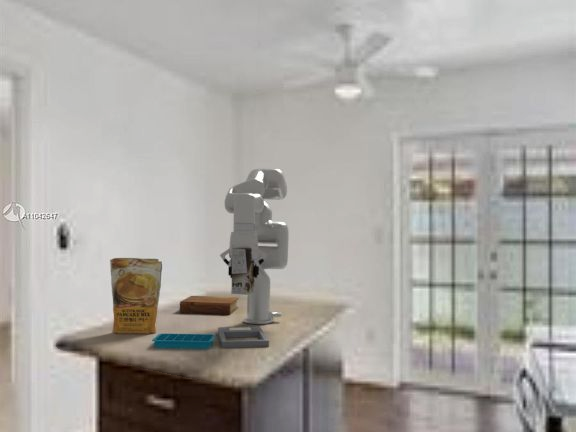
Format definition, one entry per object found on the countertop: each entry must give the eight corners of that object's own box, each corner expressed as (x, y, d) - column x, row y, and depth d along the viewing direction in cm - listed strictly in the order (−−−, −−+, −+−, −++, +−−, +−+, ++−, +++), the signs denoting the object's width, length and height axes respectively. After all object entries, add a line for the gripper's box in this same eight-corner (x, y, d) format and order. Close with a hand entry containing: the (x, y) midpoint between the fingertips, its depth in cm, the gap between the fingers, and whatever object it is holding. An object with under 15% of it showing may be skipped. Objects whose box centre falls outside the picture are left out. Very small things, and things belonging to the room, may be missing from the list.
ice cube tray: (211, 350, 195) (211, 341, 195) (151, 349, 196) (151, 340, 196) (216, 342, 207) (216, 334, 207) (159, 341, 207) (159, 333, 207)
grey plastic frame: (259, 331, 225) (259, 325, 225) (268, 346, 201) (268, 340, 201) (217, 332, 222) (218, 326, 222) (222, 347, 198) (222, 341, 198)
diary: (179, 314, 262) (179, 301, 262) (191, 307, 281) (191, 295, 281) (230, 316, 260) (230, 303, 260) (238, 308, 278) (238, 296, 278)
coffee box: (248, 295, 203) (249, 248, 202) (230, 294, 204) (231, 248, 204) (255, 291, 212) (256, 246, 211) (238, 290, 213) (238, 246, 213)
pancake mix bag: (111, 330, 224) (112, 257, 224) (161, 330, 224) (162, 257, 224) (106, 334, 217) (107, 258, 217) (158, 334, 217) (159, 259, 217)
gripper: (267, 228, 213) (266, 276, 213) (218, 227, 210) (218, 276, 210) (269, 228, 205) (269, 278, 205) (220, 228, 202) (219, 279, 203)
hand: (243, 277), depth 208 cm, fingers closed on coffee box, 8 cm apart
